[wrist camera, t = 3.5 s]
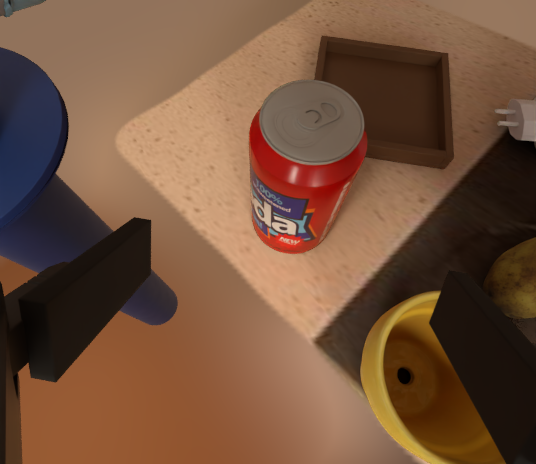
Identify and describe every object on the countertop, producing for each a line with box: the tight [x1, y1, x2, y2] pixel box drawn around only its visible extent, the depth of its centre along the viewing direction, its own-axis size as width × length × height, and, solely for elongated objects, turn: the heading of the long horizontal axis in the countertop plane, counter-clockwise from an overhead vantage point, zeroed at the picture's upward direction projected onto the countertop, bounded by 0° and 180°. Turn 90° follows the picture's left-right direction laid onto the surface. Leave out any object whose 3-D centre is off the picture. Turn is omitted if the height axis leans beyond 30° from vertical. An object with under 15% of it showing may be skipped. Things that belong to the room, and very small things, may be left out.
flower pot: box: [360, 291, 506, 464], centre depth 25 cm, size 10×10×10 cm
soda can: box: [249, 80, 367, 254], centre depth 28 cm, size 8×8×15 cm
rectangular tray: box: [314, 36, 454, 169], centre depth 40 cm, size 16×16×2 cm
